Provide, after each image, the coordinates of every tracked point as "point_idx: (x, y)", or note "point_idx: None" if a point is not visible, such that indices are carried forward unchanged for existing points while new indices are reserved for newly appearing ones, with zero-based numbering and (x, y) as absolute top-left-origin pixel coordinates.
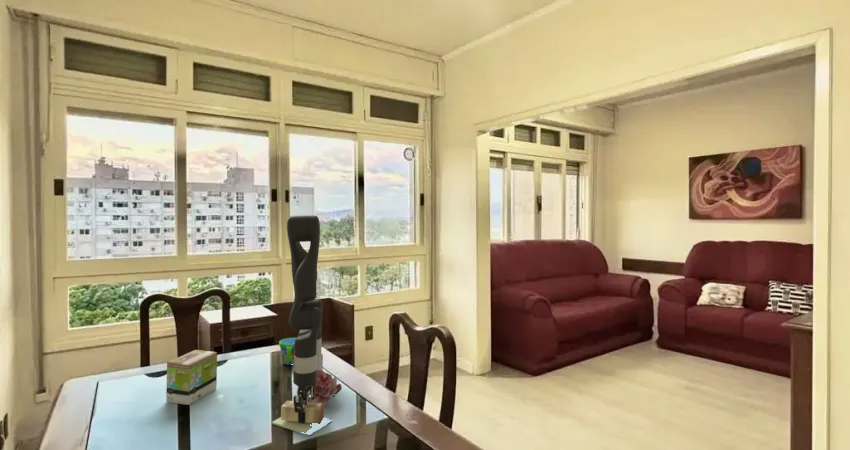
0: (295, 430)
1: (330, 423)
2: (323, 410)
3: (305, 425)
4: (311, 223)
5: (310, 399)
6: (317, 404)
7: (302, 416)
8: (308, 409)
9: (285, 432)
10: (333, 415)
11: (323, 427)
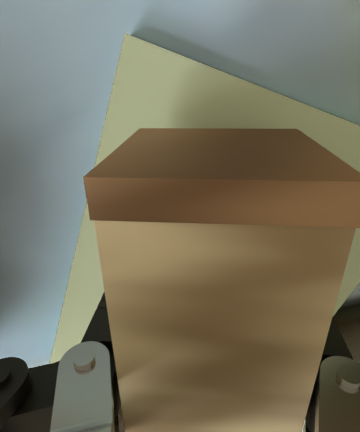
0: (346, 293)
1: (173, 40)
2: (165, 151)
3: None
4: None
5: (113, 424)
6: (153, 282)
7: (341, 336)
8: (316, 347)
9: (350, 337)
10: (10, 70)
11: (264, 87)
